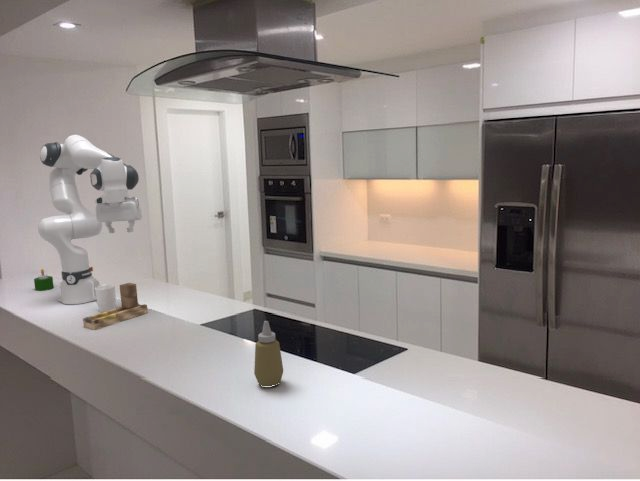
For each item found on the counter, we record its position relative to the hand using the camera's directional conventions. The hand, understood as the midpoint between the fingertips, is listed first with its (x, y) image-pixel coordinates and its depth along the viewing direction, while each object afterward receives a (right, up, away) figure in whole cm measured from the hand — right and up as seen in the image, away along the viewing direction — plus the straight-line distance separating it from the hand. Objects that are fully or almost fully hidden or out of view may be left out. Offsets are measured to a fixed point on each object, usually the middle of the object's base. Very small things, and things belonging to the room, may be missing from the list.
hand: (121, 232), depth 218 cm
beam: (-1, -34, -3) cm, 35 cm away
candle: (-57, -27, +53) cm, 83 cm away
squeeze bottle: (+66, -43, -67) cm, 103 cm away
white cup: (-10, -33, +12) cm, 36 cm away
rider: (+3, -31, +2) cm, 31 cm away
